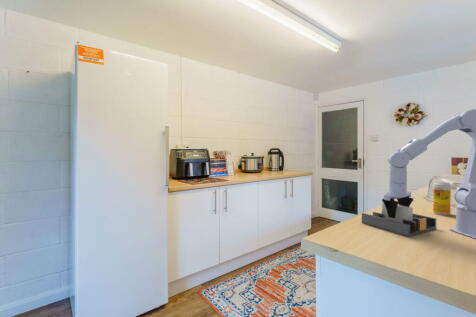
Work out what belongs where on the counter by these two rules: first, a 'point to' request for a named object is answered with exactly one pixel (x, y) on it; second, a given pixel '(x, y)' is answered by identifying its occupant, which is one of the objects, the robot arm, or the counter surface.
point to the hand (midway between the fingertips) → (397, 216)
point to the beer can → (441, 198)
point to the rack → (401, 224)
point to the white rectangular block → (399, 213)
